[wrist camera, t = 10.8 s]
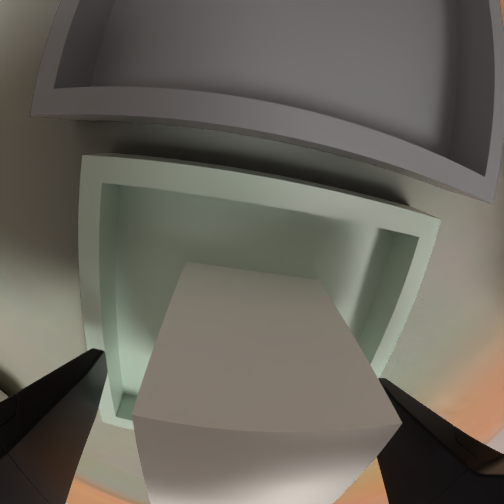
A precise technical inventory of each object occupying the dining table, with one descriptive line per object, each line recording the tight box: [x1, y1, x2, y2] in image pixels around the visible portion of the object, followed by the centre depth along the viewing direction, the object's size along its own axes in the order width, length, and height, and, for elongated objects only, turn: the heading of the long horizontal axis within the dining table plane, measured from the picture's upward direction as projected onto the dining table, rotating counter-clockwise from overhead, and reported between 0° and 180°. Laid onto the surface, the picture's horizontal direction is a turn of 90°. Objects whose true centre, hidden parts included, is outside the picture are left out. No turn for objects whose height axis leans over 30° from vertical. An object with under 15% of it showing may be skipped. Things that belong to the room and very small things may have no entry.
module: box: [132, 261, 402, 504], centre depth 8 cm, size 5×5×7 cm
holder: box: [78, 153, 441, 430], centre depth 11 cm, size 12×12×2 cm
